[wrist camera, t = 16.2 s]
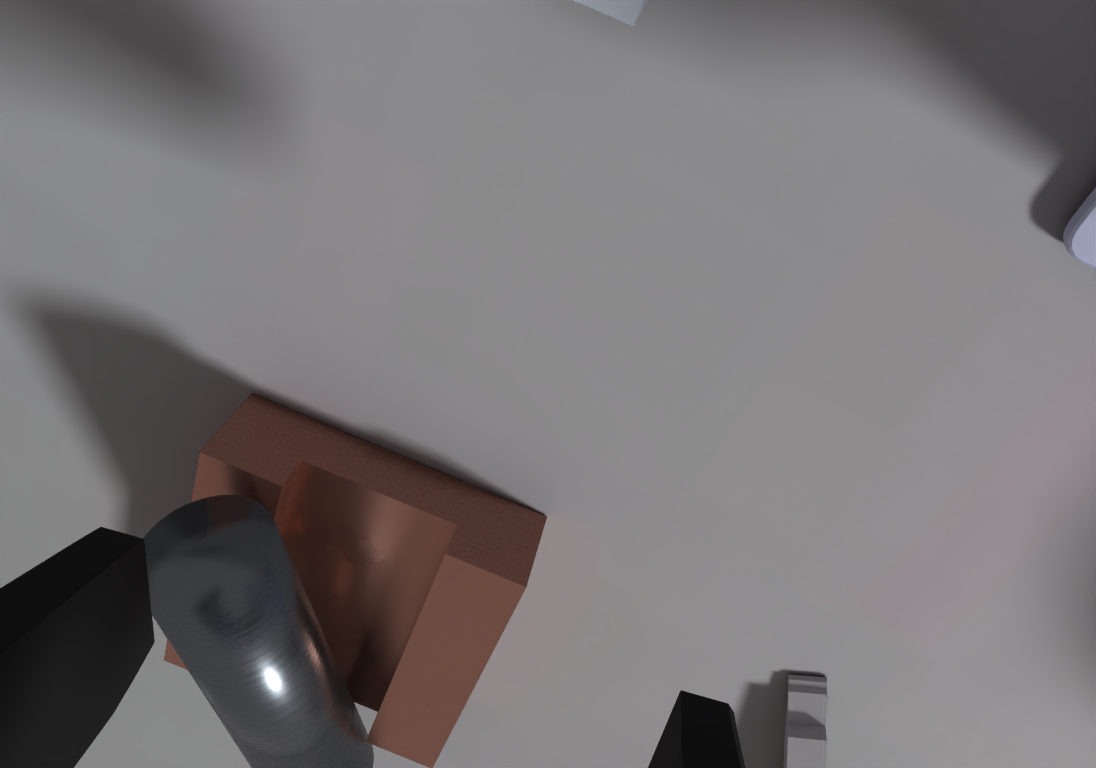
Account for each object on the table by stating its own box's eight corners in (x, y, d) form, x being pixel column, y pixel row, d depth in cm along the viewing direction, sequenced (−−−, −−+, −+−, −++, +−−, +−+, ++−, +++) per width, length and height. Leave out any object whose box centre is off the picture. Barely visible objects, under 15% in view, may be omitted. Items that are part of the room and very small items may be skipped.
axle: (141, 510, 19) (120, 624, 17) (278, 483, 20) (274, 591, 18) (270, 729, 26) (266, 832, 24) (370, 707, 26) (376, 806, 24)
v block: (546, 516, 22) (526, 587, 20) (456, 695, 27) (432, 768, 25) (251, 393, 22) (199, 452, 20) (210, 594, 26) (163, 660, 24)
